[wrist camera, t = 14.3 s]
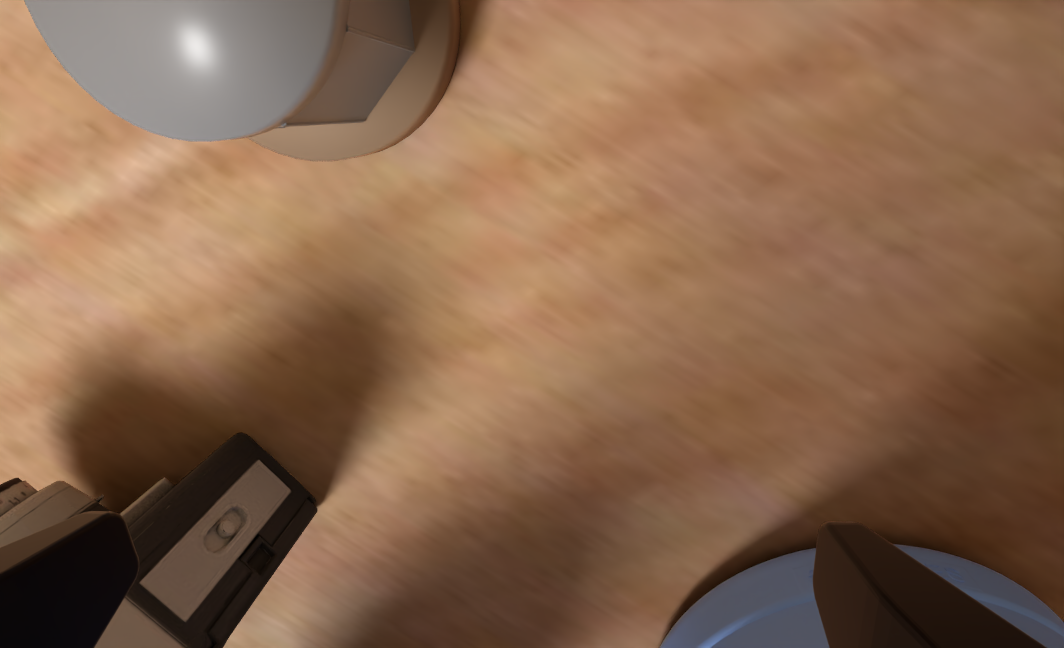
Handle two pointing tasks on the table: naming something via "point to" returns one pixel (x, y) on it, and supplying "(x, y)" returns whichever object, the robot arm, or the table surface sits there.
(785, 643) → the water jug
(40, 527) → the camera
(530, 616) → the table surface
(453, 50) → the stub
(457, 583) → the table surface
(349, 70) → the cap
